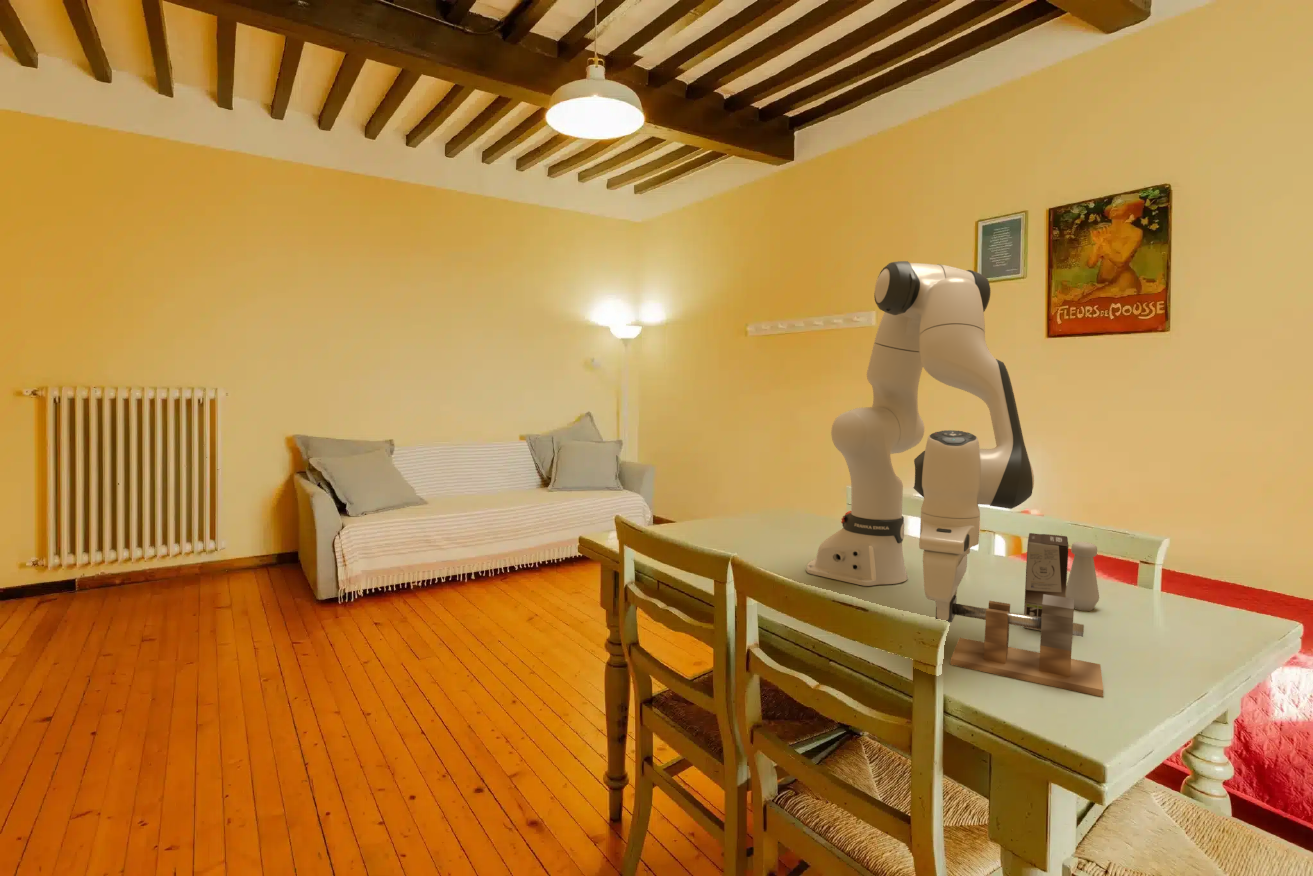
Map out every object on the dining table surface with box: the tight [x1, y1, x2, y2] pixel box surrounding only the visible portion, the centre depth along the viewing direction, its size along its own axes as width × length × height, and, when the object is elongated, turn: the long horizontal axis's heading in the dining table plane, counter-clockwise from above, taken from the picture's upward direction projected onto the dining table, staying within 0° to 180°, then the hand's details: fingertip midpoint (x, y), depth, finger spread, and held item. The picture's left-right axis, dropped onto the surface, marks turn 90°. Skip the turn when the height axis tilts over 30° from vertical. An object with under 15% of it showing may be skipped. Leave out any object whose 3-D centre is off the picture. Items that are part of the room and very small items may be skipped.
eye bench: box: [950, 594, 1104, 698], centre depth 102 cm, size 20×10×11 cm, turn 58°
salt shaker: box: [1066, 541, 1100, 612], centre depth 128 cm, size 6×6×13 cm
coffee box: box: [1023, 532, 1070, 632], centre depth 120 cm, size 9×6×16 cm
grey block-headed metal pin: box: [935, 595, 1085, 638], centre depth 103 cm, size 20×5×3 cm, turn 58°
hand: (946, 612), depth 108 cm, fingers closed on grey block-headed metal pin, 5 cm apart
